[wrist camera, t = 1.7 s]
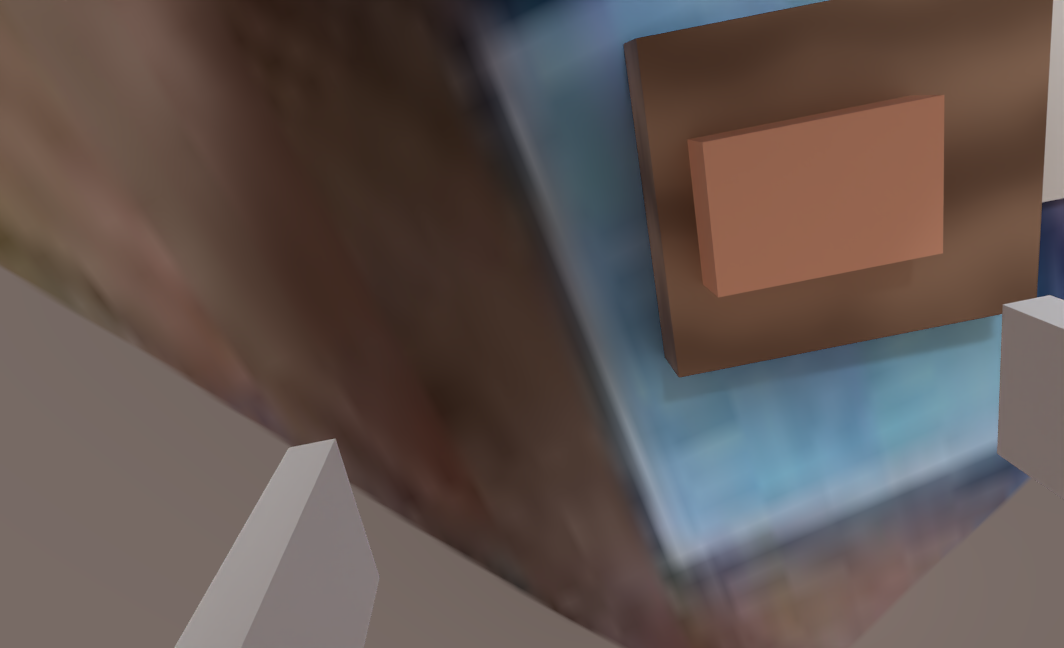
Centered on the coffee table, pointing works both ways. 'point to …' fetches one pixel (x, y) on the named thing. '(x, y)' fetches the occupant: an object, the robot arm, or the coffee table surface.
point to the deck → (832, 84)
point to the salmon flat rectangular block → (819, 194)
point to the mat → (1055, 111)
